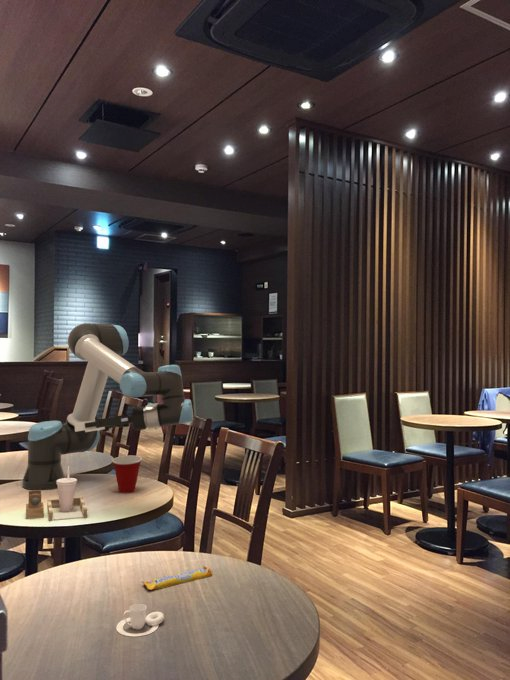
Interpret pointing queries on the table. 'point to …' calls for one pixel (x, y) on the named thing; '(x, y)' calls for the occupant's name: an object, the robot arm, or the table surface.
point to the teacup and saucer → (140, 620)
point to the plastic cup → (127, 472)
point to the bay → (55, 504)
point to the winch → (34, 505)
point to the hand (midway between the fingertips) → (79, 427)
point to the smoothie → (66, 492)
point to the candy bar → (177, 578)
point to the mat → (67, 515)
